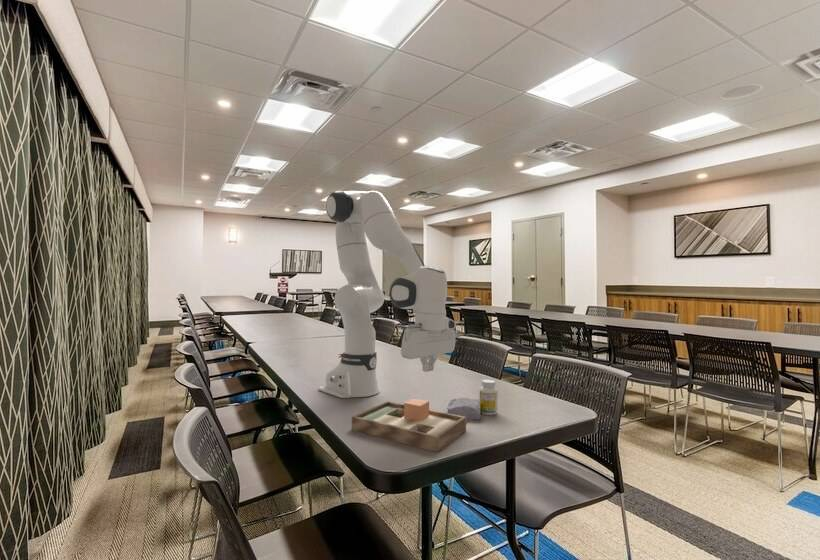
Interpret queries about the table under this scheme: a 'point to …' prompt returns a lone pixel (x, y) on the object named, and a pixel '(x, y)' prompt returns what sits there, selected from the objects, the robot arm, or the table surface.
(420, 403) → the block
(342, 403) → the table surface
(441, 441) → the board
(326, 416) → the table surface
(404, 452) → the table surface
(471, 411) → the stone block
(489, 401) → the supplement bottle
